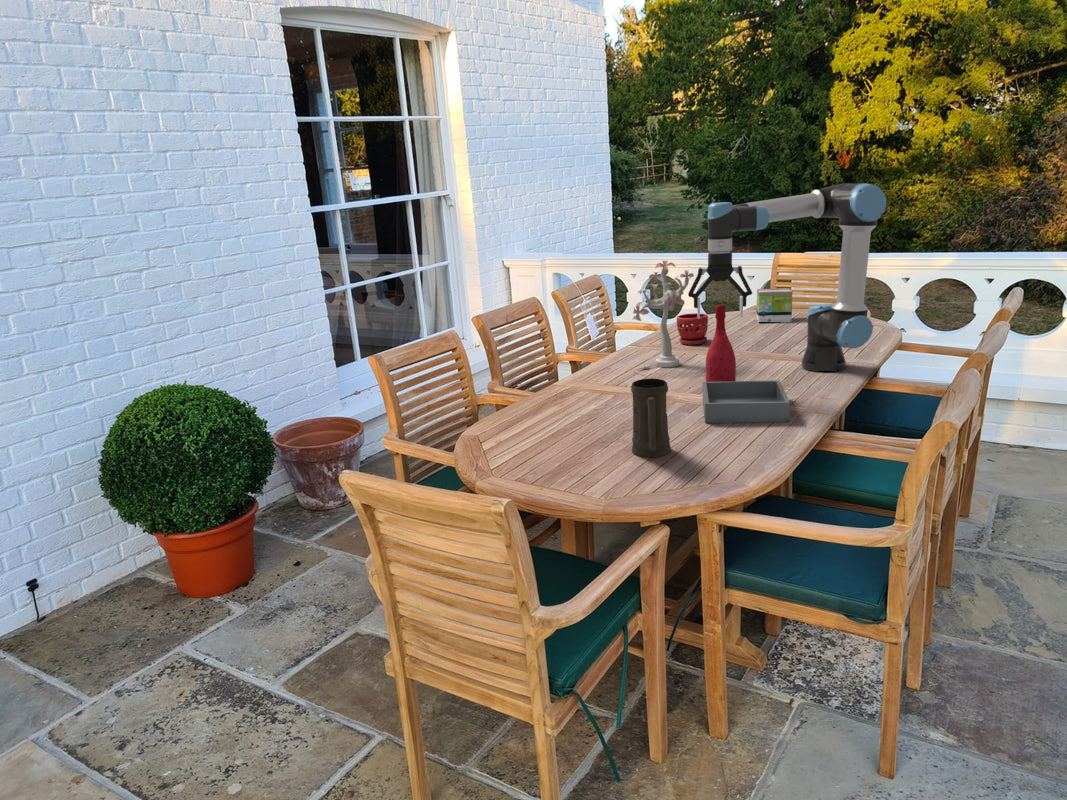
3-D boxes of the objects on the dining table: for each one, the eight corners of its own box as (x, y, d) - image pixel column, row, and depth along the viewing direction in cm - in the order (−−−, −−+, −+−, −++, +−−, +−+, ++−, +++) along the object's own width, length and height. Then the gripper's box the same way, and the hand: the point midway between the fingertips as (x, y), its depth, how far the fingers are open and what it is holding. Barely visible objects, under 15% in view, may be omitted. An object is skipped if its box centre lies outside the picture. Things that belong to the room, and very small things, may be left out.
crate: (779, 398, 260) (779, 380, 258) (789, 421, 237) (789, 402, 235) (702, 399, 264) (702, 381, 263) (705, 422, 242) (704, 403, 240)
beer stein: (627, 445, 228) (625, 378, 221) (664, 441, 228) (664, 375, 221) (639, 467, 213) (637, 397, 206) (678, 463, 214) (678, 393, 207)
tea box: (758, 323, 371) (758, 292, 367) (756, 319, 381) (756, 288, 376) (792, 322, 368) (792, 290, 364) (789, 318, 378) (789, 287, 374)
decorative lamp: (648, 377, 295) (644, 268, 283) (616, 365, 315) (612, 263, 304) (710, 365, 305) (709, 260, 294) (675, 354, 326) (673, 255, 314)
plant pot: (712, 340, 346) (712, 312, 342) (701, 347, 335) (701, 318, 332) (684, 338, 352) (683, 311, 349) (672, 345, 342) (671, 317, 339)
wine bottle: (737, 388, 274) (737, 301, 265) (734, 397, 265) (734, 307, 256) (707, 388, 277) (707, 302, 268) (704, 396, 268) (703, 307, 259)
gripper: (680, 255, 256) (681, 320, 262) (761, 251, 252) (760, 318, 258) (680, 252, 263) (681, 316, 269) (759, 248, 259) (757, 313, 265)
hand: (719, 317), depth 263 cm, fingers open, 13 cm apart
